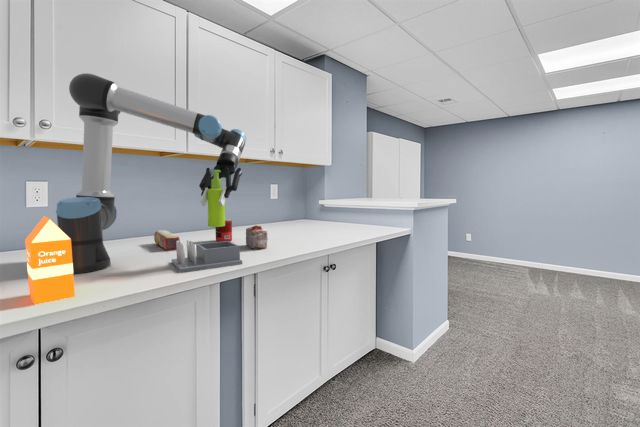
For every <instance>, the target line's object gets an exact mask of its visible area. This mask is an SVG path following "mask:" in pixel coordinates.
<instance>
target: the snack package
mask: <svg viewBox="0 0 640 427" xmlns="http://www.w3.org/2000/svg"><path fill="white" fill-rule="evenodd" d="M153 238H154V243H155V244H157V245H158V246H160V247H161V248H163V249H164V250H165V251H167V252H170V251H171V252H172V251H177V249H176V241H179V242H181V240H180V239H181V238H180V237H179V236H177V235H175V234H173V233H172V232H170V231H168V230H165V229H159V230H156V231H155V232H154V236H153Z"/></svg>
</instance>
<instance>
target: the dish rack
mask: <svg viewBox="0 0 640 427" xmlns="http://www.w3.org/2000/svg"><path fill="white" fill-rule="evenodd" d="M185 247H186V248H185ZM240 248H241V247H240V245H238V244H237V243H235V242H232V241H223V242H216V241H214V242H205V243H194V242H192V241H191V240H190V239H187V240H186V246H185V244H183V243H181V241H180V242H179V241H176V249H177V250H176V258H172V259H171V264H172V265H173V266H174V267H175V269H176V270H177V271H178V272H179V273H180V274H182V273H183V274H184V273H191V272H198V271H204V270H210V269H218V268H224V267H232V266H239V265H243V260H242V259H241V257H240V256H241V252H240V250H241V249H240ZM186 255H187V256H186Z"/></svg>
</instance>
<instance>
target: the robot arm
mask: <svg viewBox="0 0 640 427" xmlns="http://www.w3.org/2000/svg"><path fill="white" fill-rule="evenodd" d="M68 90H69V94H70V96H71V99H72V100H73V102H74V103H75V104H77V105H78V108H79V109H78V110H79V111H78V117H79V119H80V120H81V121H82V122H83V146H82V148H83V150H82V152H83V153H82V174H81V176H82V179H81V190H79V192H77V193H76V195H75V196H76V197H68V198H64V199H63V198H62V199H61V200H58V202H57V203H56V210H55V213H56V221H57V223H56V224H57V226H58V227H59V228H60V229H61V230H62V231H63V232H64V233H65V234H66V235H67V236H68V237H69V238H70V239H71V248H72V262H73V275H74V274H84V273H88V272H89V273H90V272H95V271H100V270H103V269H106V268H108V267H110V266H111V258H110V255H109V252H108V251H107V248H106V246H105V245H104V238H103V237H104V236H103V231H105V230H107V229H109V228H110V227H111V226H112V225H113V224H114V223H115V221H116V220H117V217H118V209H117V207H116V206H115V195H114V194H113V192H111V184H112V183H111V182H112V181H111V180H112V179H111V177H112V176H111V175H112V156H113V155H112V154H113V133H114V127H115V126H117V125H118V124H119V115H120V114H121V113H125V114H127V115H131V116H134V117H138V118H141V119H144V120H148V121H151V122H155V123H157V124H161V125H163V126H167V127H171V128H174V129H177V130H180V131H185V132H187V133H189V134H190V133H191V134H193V135H194V136H195V137H196V138H198V139H200V140H201V141H203V142H207V143H209V144H211V145H214V146H216V147H218V148H221V151H220V154H219V156H218V158H217V161H216V165H215V166H214V167H213V168H210V167H206V170H205V173H204V175H203V178H202V179H201V181H200V183H199V184H198V187H199V189H200V190H201V193H200V199H199V200H200V201H199V203H201V206H202V207H206V205H207V203H208V189H212V188H211V179H214V172H213V170H220V171H221V172H219V179H220V180H222V178H225V187H223V188H222V189H223V191H222V193H221V196H220V199H219V203H220V205H221V206H223V205H224V203H225V204H226V199H228V198H229V197H230V195H231V192H232V191H233V192H236V191H237V189H238V186H239V182H240V179H241V177H242V175H243V171H242V168H241V167H238V165H239V162H240V159H241V157H242V153H243V151H244V148H245V146H246V141H247V136H246V134H245V132H243V130H241V129H237V128H236V129H235V128H233V129H231V130H227V129H225V128H223V127H222V124H221V122H220V120H219V119H218V118H217V117H216V116H214V115H212V114H211V115H210V114H206V115H205V114H202V113H198V112H196V111H194V110H193V111H192V110H190V109H187V108H184V107H181V106H178V105H175V104H173V103H172V104H171V103H169V102H165V101H163V100H159V99H156V98H154V97H151V96H148V95H145V94H142V93H141V94H140V93H138V92H135V91H132V90H130V89H127V88H124V87H121V86H120V85H119V83H117V82H114V81H112V80H109V79H107V78H104V77H101V76H99V75H96V74H93V73H88V72H87V73H81V74H77V75H76V76H74V77H73V78H71V81H70V82H69V87H68ZM233 174H234V175H233ZM232 175H233V178H232Z"/></svg>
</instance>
